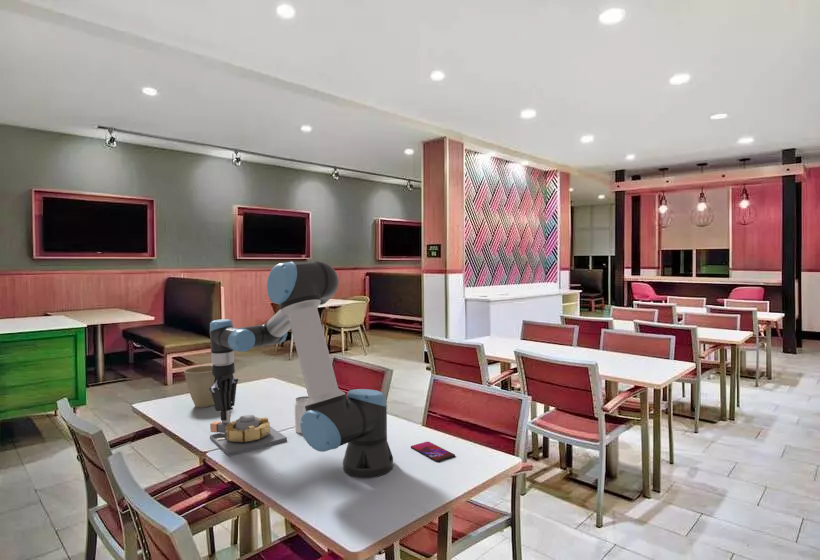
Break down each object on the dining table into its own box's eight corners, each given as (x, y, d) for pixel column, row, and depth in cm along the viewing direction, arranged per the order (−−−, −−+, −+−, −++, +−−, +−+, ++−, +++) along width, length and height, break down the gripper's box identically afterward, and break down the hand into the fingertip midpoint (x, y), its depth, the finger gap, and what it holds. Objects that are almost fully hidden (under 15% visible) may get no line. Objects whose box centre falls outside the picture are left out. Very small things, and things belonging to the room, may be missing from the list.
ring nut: (276, 428, 177) (275, 416, 176) (254, 443, 163) (254, 429, 163) (224, 424, 182) (224, 412, 182) (200, 438, 168) (199, 425, 168)
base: (286, 440, 170) (286, 418, 170) (228, 456, 158) (227, 431, 157) (264, 425, 186) (264, 404, 185) (209, 438, 173) (209, 416, 173)
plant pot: (229, 400, 219) (228, 365, 218) (208, 411, 204) (207, 373, 204) (200, 399, 222) (198, 364, 221) (177, 409, 208) (176, 372, 207)
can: (309, 434, 176) (308, 401, 175) (292, 433, 177) (291, 400, 176) (316, 428, 182) (315, 396, 181) (299, 427, 183) (298, 395, 183)
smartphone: (428, 441, 167) (456, 455, 154) (428, 443, 167) (456, 457, 154) (409, 446, 162) (436, 461, 150) (409, 448, 162) (436, 463, 150)
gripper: (226, 358, 181) (229, 421, 183) (201, 367, 169) (205, 433, 171) (243, 359, 179) (246, 422, 180) (219, 368, 167) (223, 436, 168)
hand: (226, 428), depth 176 cm, fingers closed
